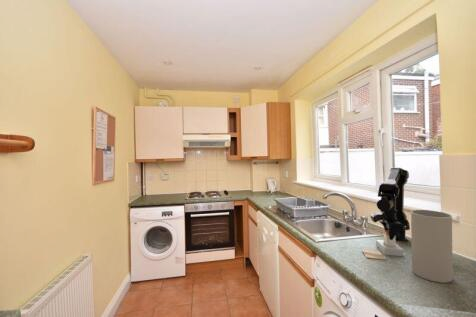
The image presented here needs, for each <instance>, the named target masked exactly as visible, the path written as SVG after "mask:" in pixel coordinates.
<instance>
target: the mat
mask: <svg viewBox="0 0 476 317" xmlns="http://www.w3.org/2000/svg"><path fill="white" fill-rule="evenodd" d="M361 252H362V254H363V255H364V256H365V258H366V259H371V260H380V261H381V260H384V261H386V260H387V258H386V257H385V255H384V254H382V253H381V252H380V251H375V250H361Z"/></svg>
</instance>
